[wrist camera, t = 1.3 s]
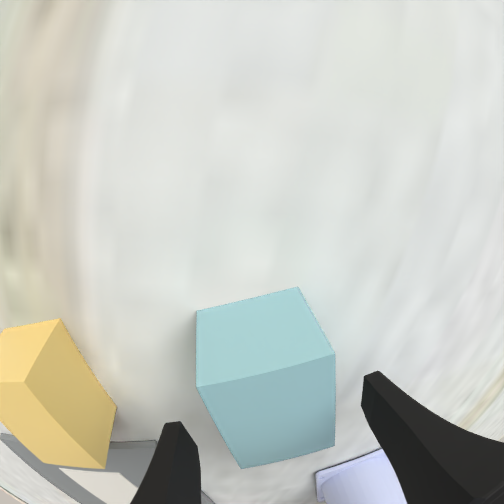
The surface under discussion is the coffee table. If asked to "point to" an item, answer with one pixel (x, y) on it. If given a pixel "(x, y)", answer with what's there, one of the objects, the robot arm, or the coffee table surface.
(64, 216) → the coffee table surface
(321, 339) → the teal brick
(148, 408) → the coffee table surface
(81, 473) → the baseplate
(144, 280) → the coffee table surface
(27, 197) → the coffee table surface
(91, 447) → the ochre brick
